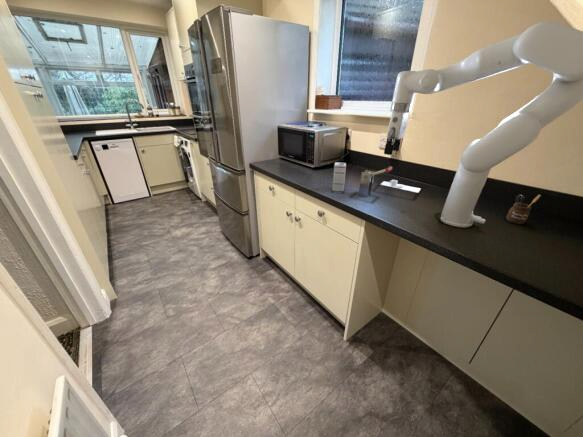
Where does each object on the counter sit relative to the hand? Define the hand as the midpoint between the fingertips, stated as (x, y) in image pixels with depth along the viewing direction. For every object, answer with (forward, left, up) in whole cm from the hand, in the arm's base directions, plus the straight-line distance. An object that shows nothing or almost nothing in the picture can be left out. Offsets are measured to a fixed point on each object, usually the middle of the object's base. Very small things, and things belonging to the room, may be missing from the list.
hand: (391, 152), depth 99 cm
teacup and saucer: (-2, -21, -23) cm, 31 cm away
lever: (+4, 0, -11) cm, 12 cm away
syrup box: (+22, +1, -23) cm, 32 cm away
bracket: (+8, 0, -23) cm, 25 cm away
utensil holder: (-50, -15, -23) cm, 57 cm away
